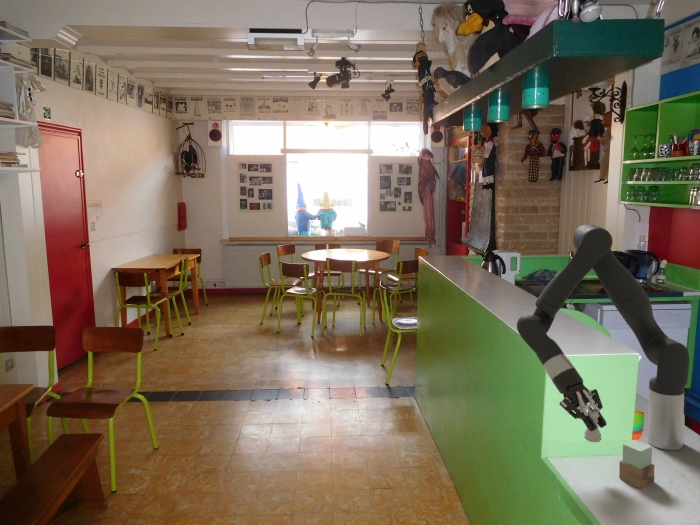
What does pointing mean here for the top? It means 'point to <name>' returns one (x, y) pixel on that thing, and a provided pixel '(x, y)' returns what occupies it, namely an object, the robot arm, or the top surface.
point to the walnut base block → (636, 474)
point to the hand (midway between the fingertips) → (599, 427)
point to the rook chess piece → (594, 435)
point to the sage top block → (637, 454)
